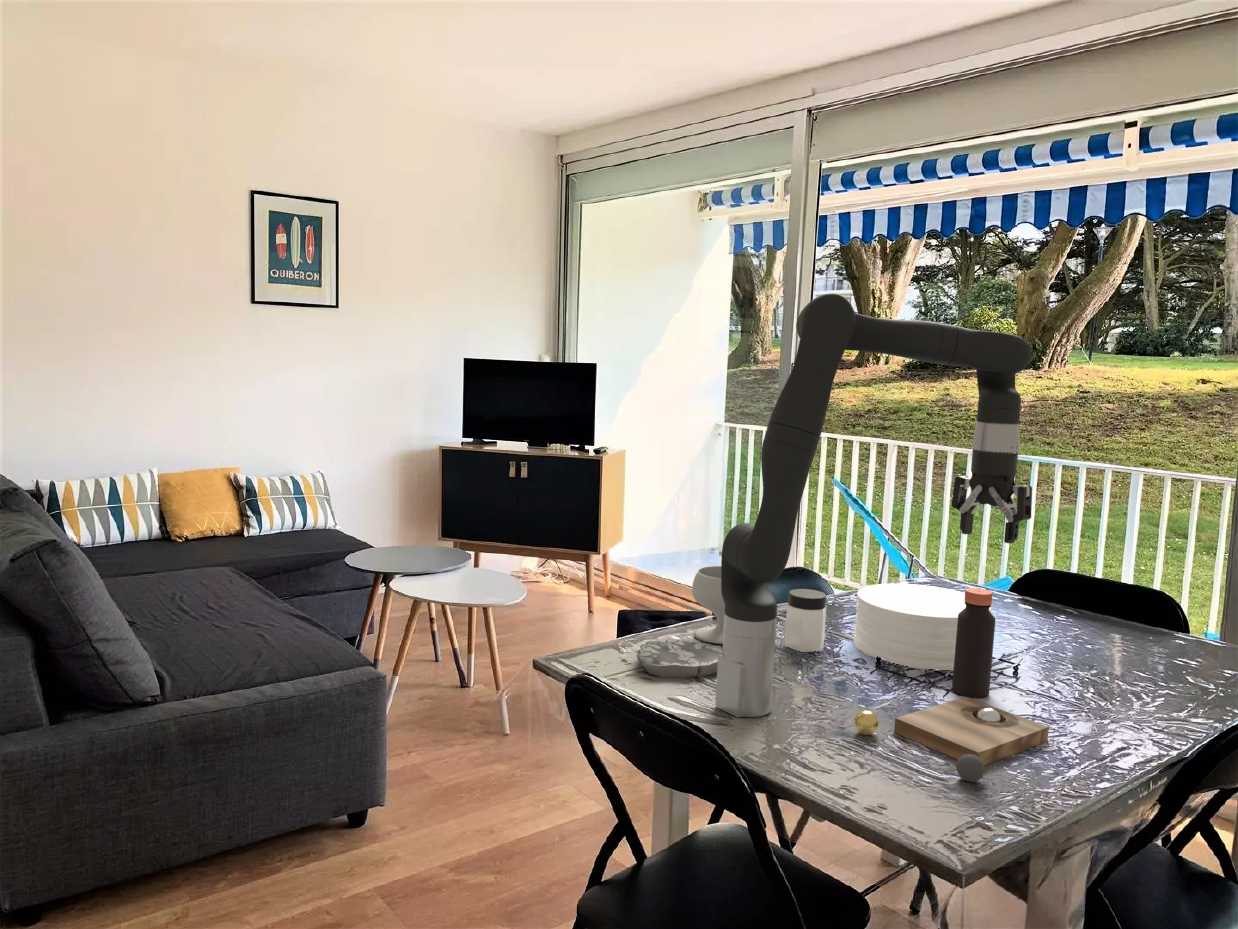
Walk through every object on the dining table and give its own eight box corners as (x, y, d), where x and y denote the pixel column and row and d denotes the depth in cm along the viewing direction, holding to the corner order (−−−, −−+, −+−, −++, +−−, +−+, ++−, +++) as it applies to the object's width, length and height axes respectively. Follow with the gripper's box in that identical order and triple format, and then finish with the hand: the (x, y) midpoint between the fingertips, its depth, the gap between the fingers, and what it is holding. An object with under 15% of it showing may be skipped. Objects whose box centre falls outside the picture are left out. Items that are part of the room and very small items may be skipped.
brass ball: (867, 740, 154) (868, 717, 154) (848, 732, 157) (849, 709, 157) (882, 735, 156) (884, 713, 156) (864, 727, 160) (865, 705, 159)
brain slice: (702, 649, 200) (703, 635, 199) (742, 675, 184) (742, 661, 184) (618, 657, 192) (619, 643, 192) (652, 686, 177) (653, 671, 176)
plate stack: (853, 662, 195) (857, 609, 193) (853, 625, 222) (856, 579, 220) (995, 678, 188) (1000, 623, 187) (977, 638, 215) (981, 590, 214)
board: (977, 768, 145) (978, 752, 145) (894, 732, 158) (895, 718, 158) (1047, 741, 157) (1048, 727, 156) (964, 709, 170) (965, 696, 169)
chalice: (703, 649, 199) (706, 581, 197) (680, 629, 212) (683, 566, 211) (762, 645, 203) (766, 578, 201) (737, 626, 216) (740, 564, 215)
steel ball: (990, 737, 157) (993, 715, 157) (970, 728, 161) (972, 706, 160) (1004, 732, 160) (1007, 710, 159) (983, 723, 163) (986, 702, 162)
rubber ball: (973, 789, 138) (975, 763, 137) (949, 778, 141) (951, 753, 141) (988, 782, 140) (991, 757, 140) (965, 772, 143) (967, 747, 143)
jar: (832, 648, 202) (835, 595, 201) (808, 655, 197) (811, 600, 196) (800, 638, 209) (803, 586, 208) (776, 644, 204) (779, 591, 203)
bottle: (991, 690, 180) (1000, 590, 178) (985, 701, 174) (994, 597, 172) (955, 683, 183) (963, 585, 181) (948, 693, 178) (956, 592, 175)
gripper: (947, 444, 167) (940, 533, 169) (1020, 453, 156) (1012, 547, 157) (972, 443, 171) (965, 529, 173) (1045, 452, 160) (1036, 544, 162)
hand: (987, 538), depth 165 cm, fingers open, 8 cm apart
